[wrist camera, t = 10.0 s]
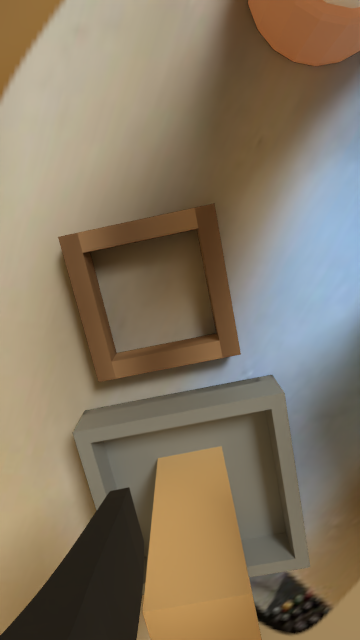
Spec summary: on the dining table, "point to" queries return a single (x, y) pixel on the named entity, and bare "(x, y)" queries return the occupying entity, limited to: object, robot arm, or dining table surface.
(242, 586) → the tan rectangular block
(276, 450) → the tray
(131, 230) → the socket collar
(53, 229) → the dining table surface
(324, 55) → the salt shaker
